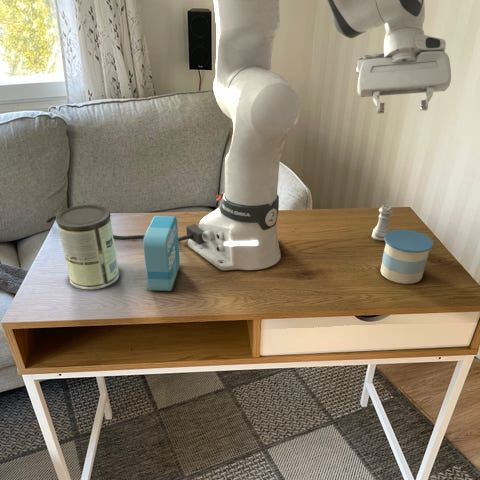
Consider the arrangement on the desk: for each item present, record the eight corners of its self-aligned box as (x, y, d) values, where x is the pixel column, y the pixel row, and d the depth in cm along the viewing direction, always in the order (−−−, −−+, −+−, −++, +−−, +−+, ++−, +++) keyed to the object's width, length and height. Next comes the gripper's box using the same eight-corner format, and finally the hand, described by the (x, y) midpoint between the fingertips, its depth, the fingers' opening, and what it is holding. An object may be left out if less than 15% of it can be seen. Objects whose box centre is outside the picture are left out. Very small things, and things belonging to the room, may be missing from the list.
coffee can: (71, 267, 109) (58, 205, 101) (119, 263, 110) (111, 203, 102) (66, 292, 101) (52, 227, 92) (118, 288, 102) (109, 224, 94)
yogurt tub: (369, 273, 108) (375, 240, 104) (392, 257, 114) (399, 225, 109) (411, 290, 103) (419, 255, 98) (432, 272, 109) (441, 239, 104)
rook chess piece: (368, 238, 122) (373, 207, 117) (375, 232, 125) (381, 201, 120) (385, 243, 120) (392, 212, 115) (392, 236, 123) (399, 206, 118)
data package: (170, 294, 101) (166, 240, 94) (148, 293, 101) (142, 239, 94) (180, 264, 110) (176, 213, 103) (159, 263, 110) (155, 213, 103)
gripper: (357, 48, 114) (355, 107, 113) (453, 39, 109) (452, 101, 109) (356, 63, 120) (355, 120, 119) (447, 55, 115) (446, 114, 115)
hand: (402, 111), depth 114 cm, fingers open, 8 cm apart
